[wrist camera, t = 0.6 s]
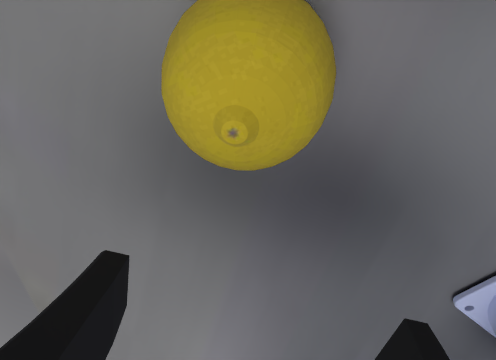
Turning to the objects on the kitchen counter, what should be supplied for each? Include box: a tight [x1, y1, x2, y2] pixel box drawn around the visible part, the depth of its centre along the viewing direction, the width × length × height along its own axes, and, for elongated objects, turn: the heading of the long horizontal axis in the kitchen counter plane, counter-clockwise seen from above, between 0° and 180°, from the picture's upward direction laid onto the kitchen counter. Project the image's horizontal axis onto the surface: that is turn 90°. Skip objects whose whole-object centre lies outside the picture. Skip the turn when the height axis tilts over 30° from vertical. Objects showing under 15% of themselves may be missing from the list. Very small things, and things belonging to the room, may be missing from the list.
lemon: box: [162, 0, 336, 170], centre depth 13 cm, size 6×6×8 cm
